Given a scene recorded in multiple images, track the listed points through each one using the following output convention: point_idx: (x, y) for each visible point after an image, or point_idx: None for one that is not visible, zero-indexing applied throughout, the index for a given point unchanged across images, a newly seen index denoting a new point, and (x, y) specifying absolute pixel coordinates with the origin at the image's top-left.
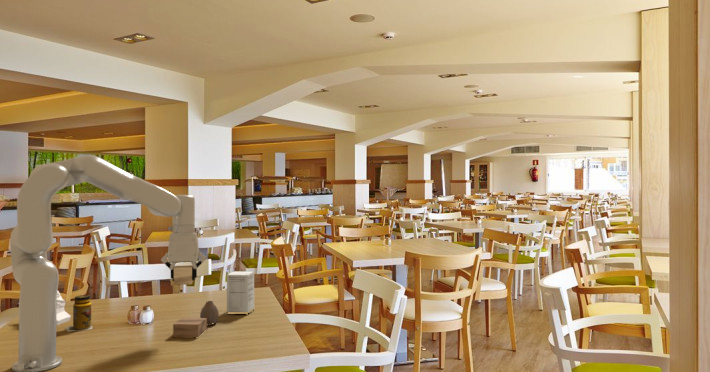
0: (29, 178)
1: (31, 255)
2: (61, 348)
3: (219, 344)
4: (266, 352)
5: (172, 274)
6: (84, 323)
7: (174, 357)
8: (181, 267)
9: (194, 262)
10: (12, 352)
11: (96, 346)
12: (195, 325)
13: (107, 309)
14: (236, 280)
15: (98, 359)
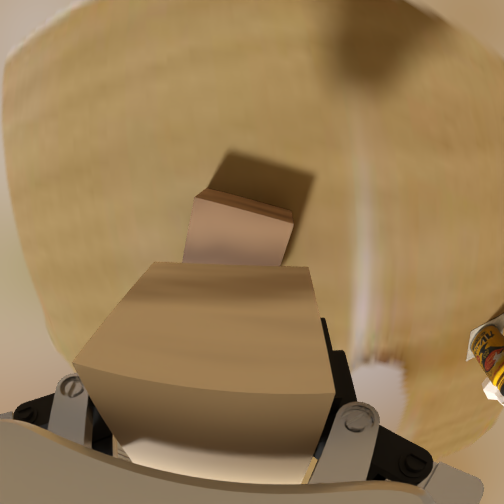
0: None
1: None
2: None
3: (137, 110)
4: (47, 55)
5: (333, 358)
6: (489, 334)
7: (260, 6)
8: (208, 393)
9: (53, 431)
10: None
11: (479, 177)
12: (206, 199)
13: (415, 438)
14: (118, 451)
15: (454, 58)
